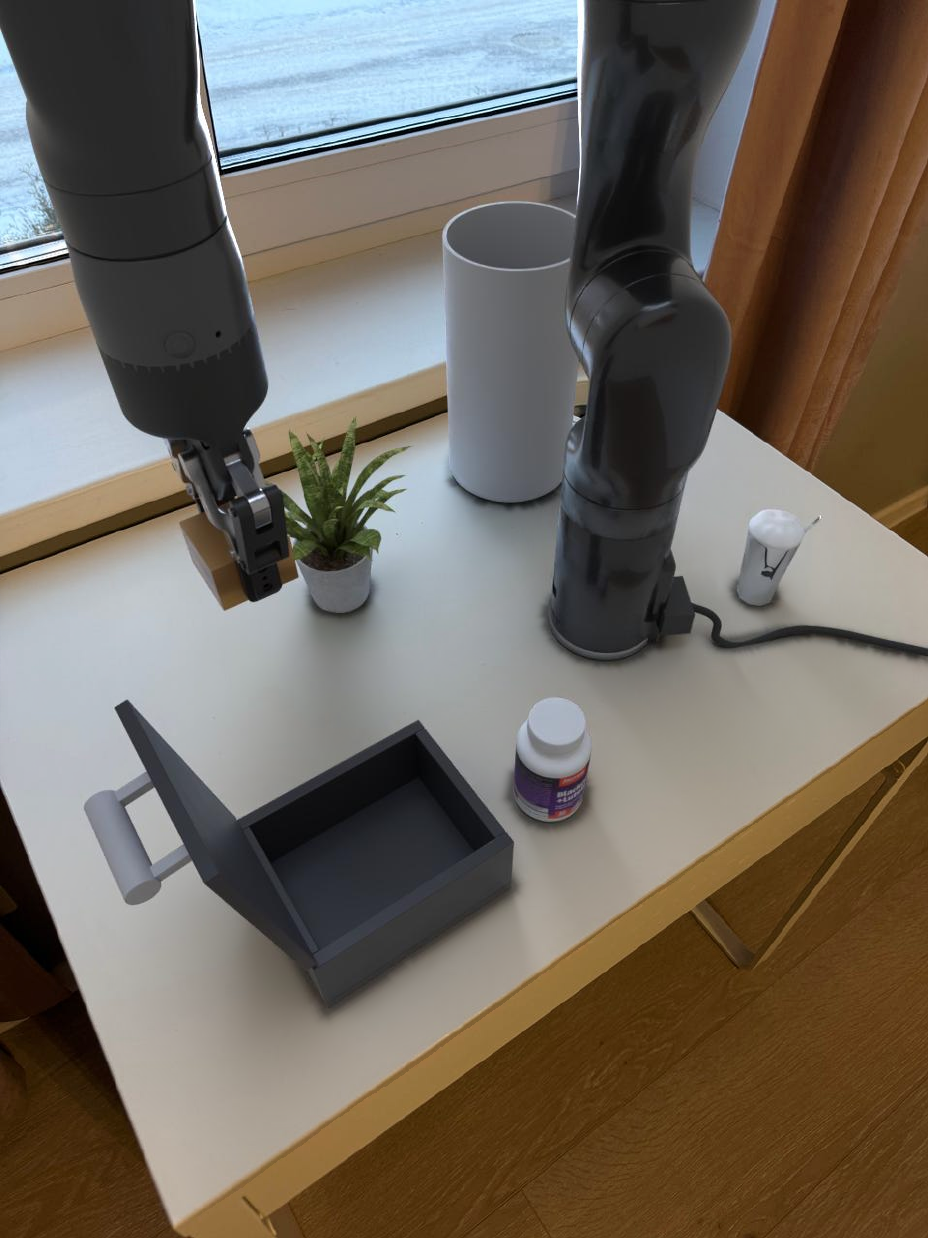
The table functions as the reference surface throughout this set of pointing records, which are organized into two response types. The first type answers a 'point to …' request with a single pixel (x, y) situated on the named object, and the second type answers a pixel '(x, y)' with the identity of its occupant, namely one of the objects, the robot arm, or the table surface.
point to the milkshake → (768, 554)
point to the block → (222, 560)
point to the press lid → (188, 840)
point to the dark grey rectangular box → (380, 856)
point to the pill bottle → (552, 760)
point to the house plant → (336, 524)
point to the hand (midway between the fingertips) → (245, 564)
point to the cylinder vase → (508, 348)
